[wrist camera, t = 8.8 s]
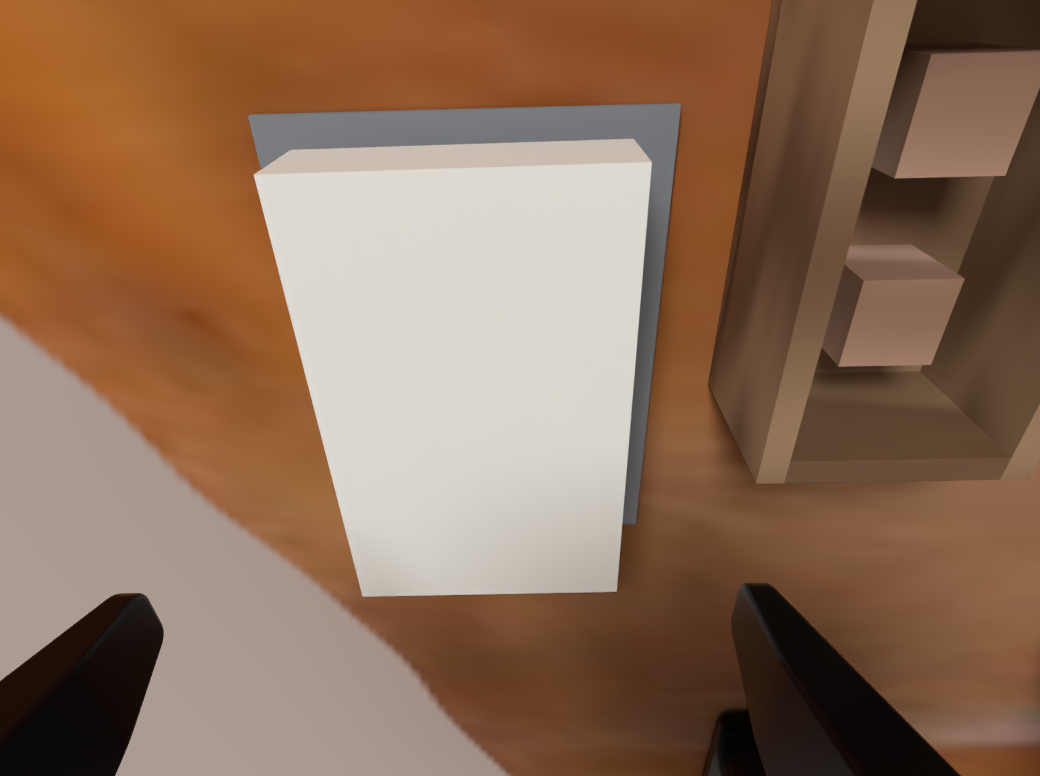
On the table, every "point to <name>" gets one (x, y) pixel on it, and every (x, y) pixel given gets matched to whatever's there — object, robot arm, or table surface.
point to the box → (888, 246)
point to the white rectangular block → (469, 353)
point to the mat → (511, 125)
